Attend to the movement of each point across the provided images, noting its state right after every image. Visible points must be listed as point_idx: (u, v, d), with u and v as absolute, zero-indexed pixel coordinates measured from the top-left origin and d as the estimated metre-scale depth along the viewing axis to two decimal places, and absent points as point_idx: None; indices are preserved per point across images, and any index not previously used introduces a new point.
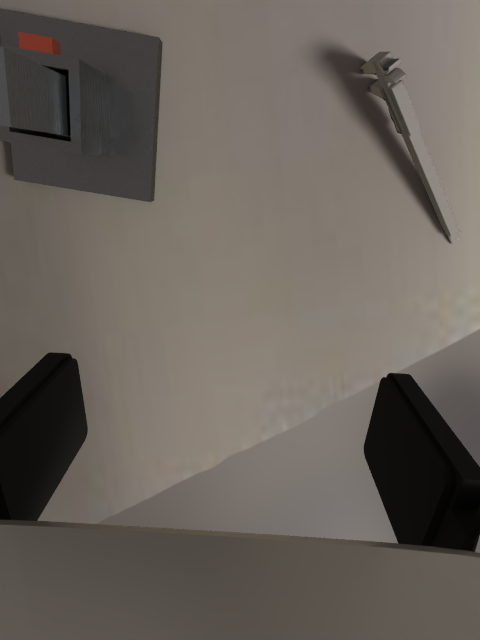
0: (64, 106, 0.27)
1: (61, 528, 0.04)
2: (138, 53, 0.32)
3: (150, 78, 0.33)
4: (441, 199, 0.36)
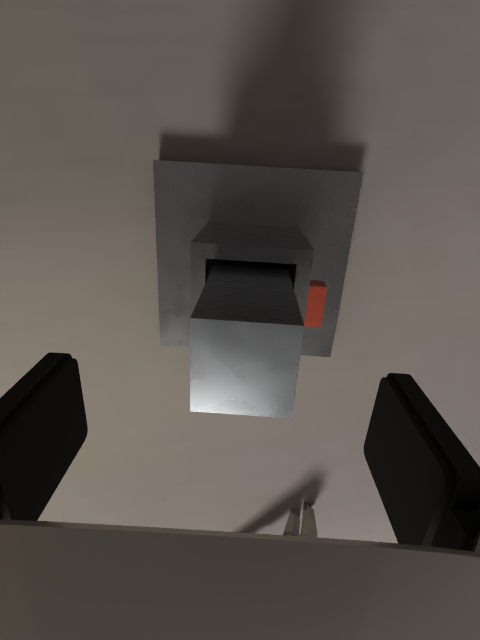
0: None
1: (61, 528, 0.04)
2: (315, 337, 0.29)
3: None
4: None
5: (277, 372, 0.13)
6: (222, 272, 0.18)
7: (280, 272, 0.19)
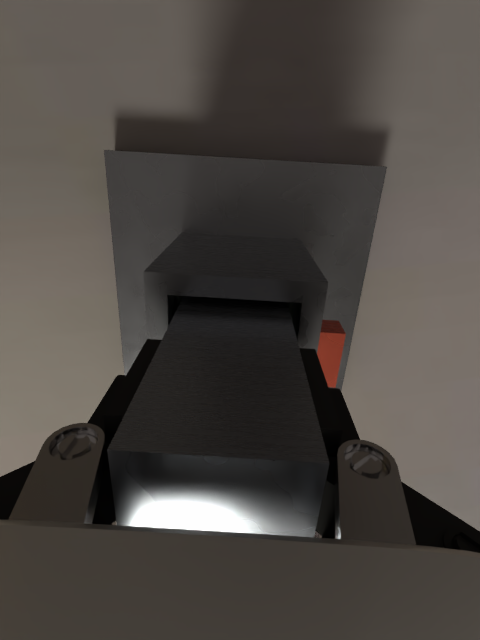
0: None
1: (61, 528, 0.04)
2: None
3: None
4: None
5: (276, 533, 0.07)
6: (190, 318, 0.12)
7: (278, 314, 0.13)
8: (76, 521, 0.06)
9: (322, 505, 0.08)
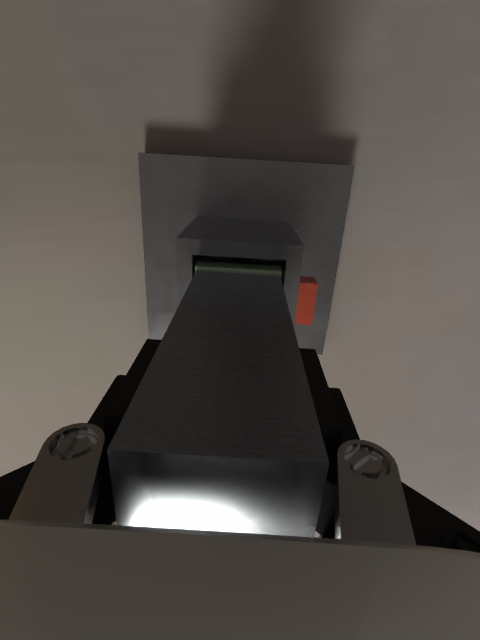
0: None
1: (61, 528, 0.04)
2: (307, 334, 0.28)
3: None
4: None
5: (276, 533, 0.07)
6: (190, 318, 0.12)
7: (278, 314, 0.13)
8: (76, 521, 0.06)
9: (322, 505, 0.08)
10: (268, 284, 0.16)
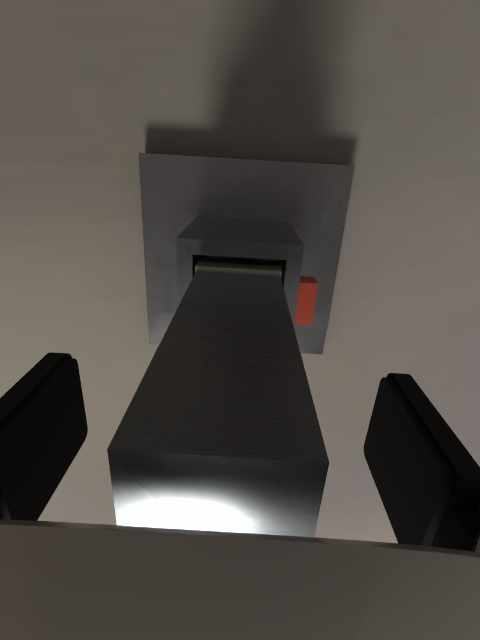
0: None
1: (61, 528, 0.04)
2: (307, 334, 0.28)
3: None
4: None
5: (276, 533, 0.07)
6: (190, 318, 0.12)
7: (278, 314, 0.13)
8: None
9: None
10: (268, 284, 0.16)
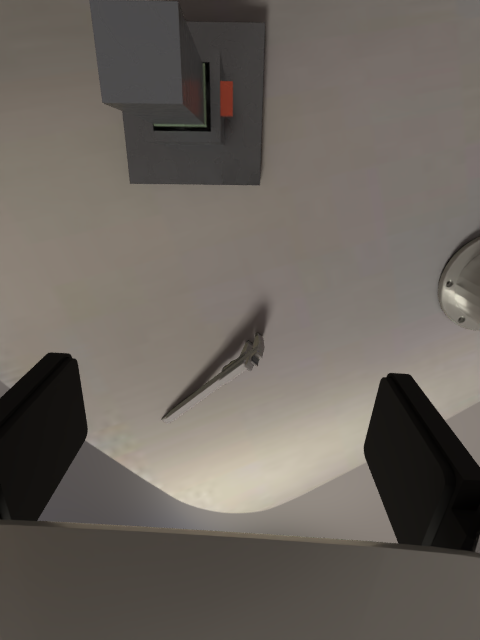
0: (168, 118, 0.24)
1: (61, 528, 0.04)
2: (246, 167, 0.38)
3: (230, 179, 0.38)
4: (186, 407, 0.50)
5: (164, 54, 0.17)
6: None
7: None
8: None
9: None
10: None
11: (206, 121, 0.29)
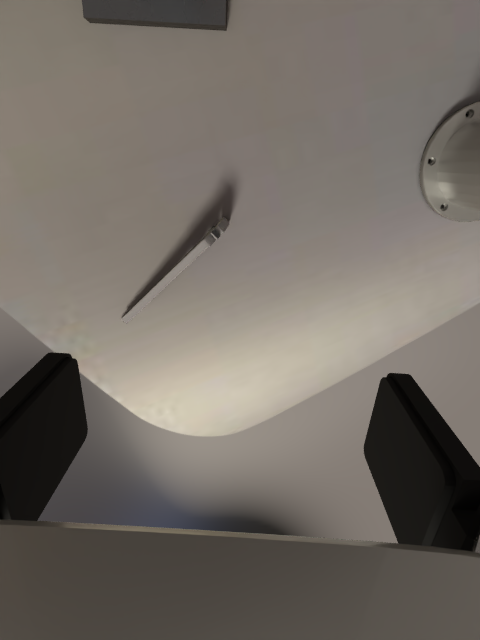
0: None
1: (61, 528, 0.04)
2: (211, 2, 0.34)
3: (193, 16, 0.35)
4: (146, 299, 0.47)
5: None
6: None
7: None
8: None
9: None
10: None
11: None
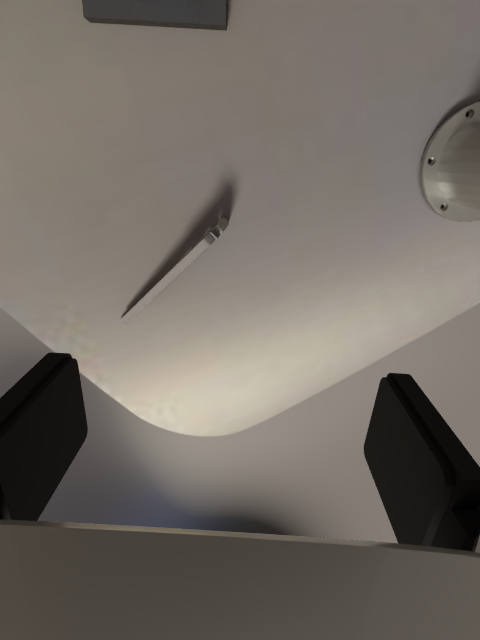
0: None
1: (61, 528, 0.04)
2: (211, 2, 0.34)
3: (193, 16, 0.35)
4: (145, 299, 0.47)
5: None
6: None
7: None
8: None
9: None
10: None
11: None
